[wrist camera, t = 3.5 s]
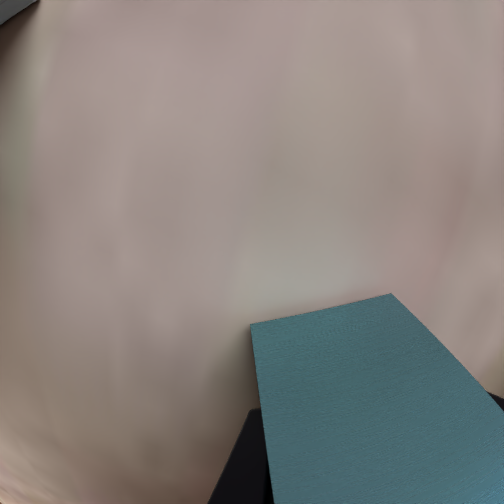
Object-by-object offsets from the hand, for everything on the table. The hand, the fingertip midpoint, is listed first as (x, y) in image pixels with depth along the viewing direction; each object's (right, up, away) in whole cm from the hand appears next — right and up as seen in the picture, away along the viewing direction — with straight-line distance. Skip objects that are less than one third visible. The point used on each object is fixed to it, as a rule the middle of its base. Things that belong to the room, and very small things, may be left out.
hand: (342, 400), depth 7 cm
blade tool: (+1, -7, +4) cm, 8 cm away
